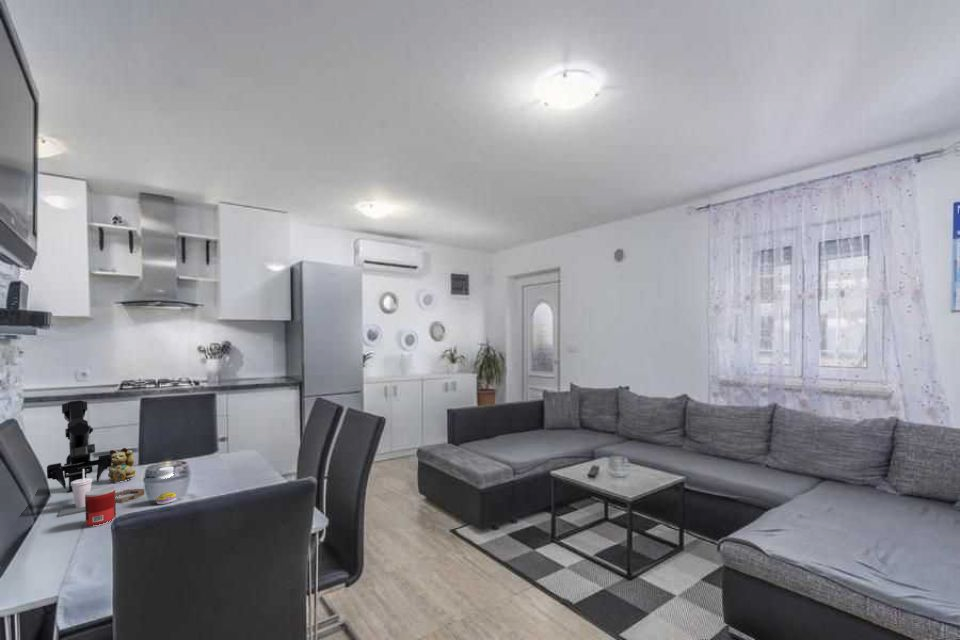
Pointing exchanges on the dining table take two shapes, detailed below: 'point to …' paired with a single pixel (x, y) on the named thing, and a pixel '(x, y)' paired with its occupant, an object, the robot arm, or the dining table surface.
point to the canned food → (100, 506)
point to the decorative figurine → (121, 465)
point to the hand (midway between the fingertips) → (81, 484)
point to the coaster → (70, 510)
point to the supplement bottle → (166, 497)
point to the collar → (126, 499)
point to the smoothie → (81, 490)
